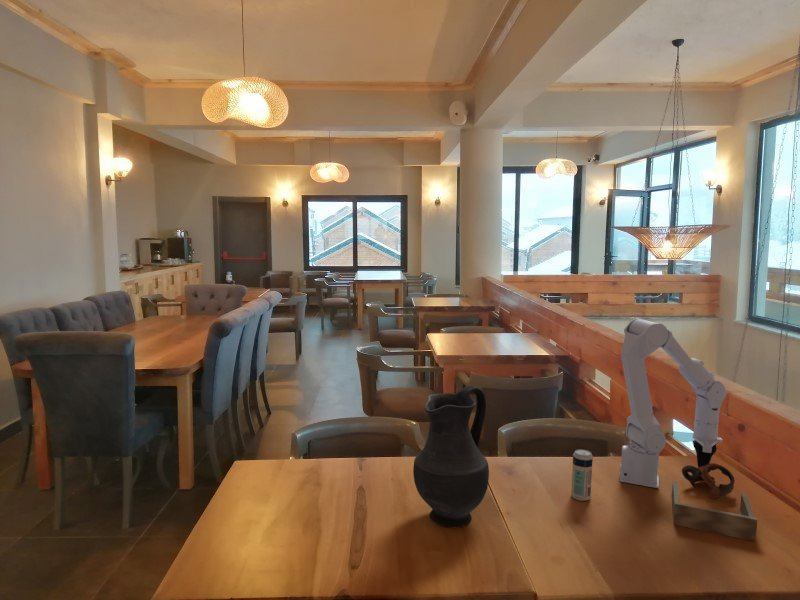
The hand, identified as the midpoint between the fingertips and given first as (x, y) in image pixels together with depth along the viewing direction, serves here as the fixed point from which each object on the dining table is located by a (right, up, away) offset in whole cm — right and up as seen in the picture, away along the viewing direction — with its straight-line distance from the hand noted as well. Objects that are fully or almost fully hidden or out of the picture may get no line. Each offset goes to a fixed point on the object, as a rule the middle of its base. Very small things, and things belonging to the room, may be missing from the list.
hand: (702, 468), depth 151 cm
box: (-10, -5, -21) cm, 24 cm away
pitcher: (-71, -4, -22) cm, 74 cm away
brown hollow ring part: (-3, -4, -7) cm, 9 cm away
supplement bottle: (-38, -4, -13) cm, 40 cm away
